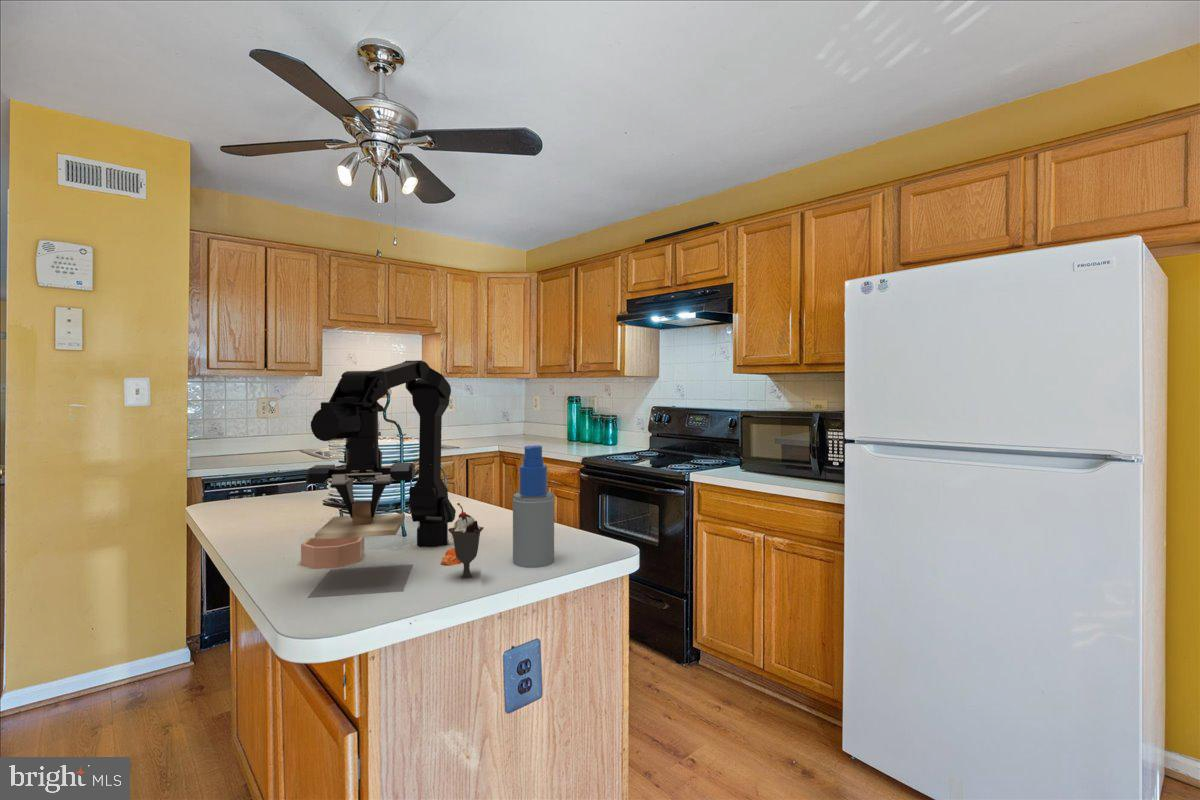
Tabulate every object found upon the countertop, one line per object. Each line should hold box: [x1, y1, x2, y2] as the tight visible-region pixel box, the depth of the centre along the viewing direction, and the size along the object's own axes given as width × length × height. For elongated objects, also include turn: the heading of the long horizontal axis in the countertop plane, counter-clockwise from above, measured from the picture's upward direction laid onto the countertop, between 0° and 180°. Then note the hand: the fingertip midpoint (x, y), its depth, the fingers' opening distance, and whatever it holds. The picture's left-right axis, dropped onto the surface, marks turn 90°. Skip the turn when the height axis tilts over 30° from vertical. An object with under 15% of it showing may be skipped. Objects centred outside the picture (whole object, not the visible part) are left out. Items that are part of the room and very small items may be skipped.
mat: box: [306, 564, 414, 599], centre depth 110 cm, size 16×16×1 cm
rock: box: [440, 548, 463, 566], centre depth 122 cm, size 12×12×4 cm
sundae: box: [448, 502, 485, 579], centre depth 112 cm, size 7×7×15 cm
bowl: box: [300, 536, 365, 570], centre depth 123 cm, size 12×12×5 cm
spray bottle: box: [512, 444, 555, 568], centre depth 124 cm, size 9×9×25 cm
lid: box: [314, 499, 406, 539], centre depth 110 cm, size 14×14×5 cm
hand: (363, 517), depth 110 cm, fingers closed on lid, 3 cm apart
